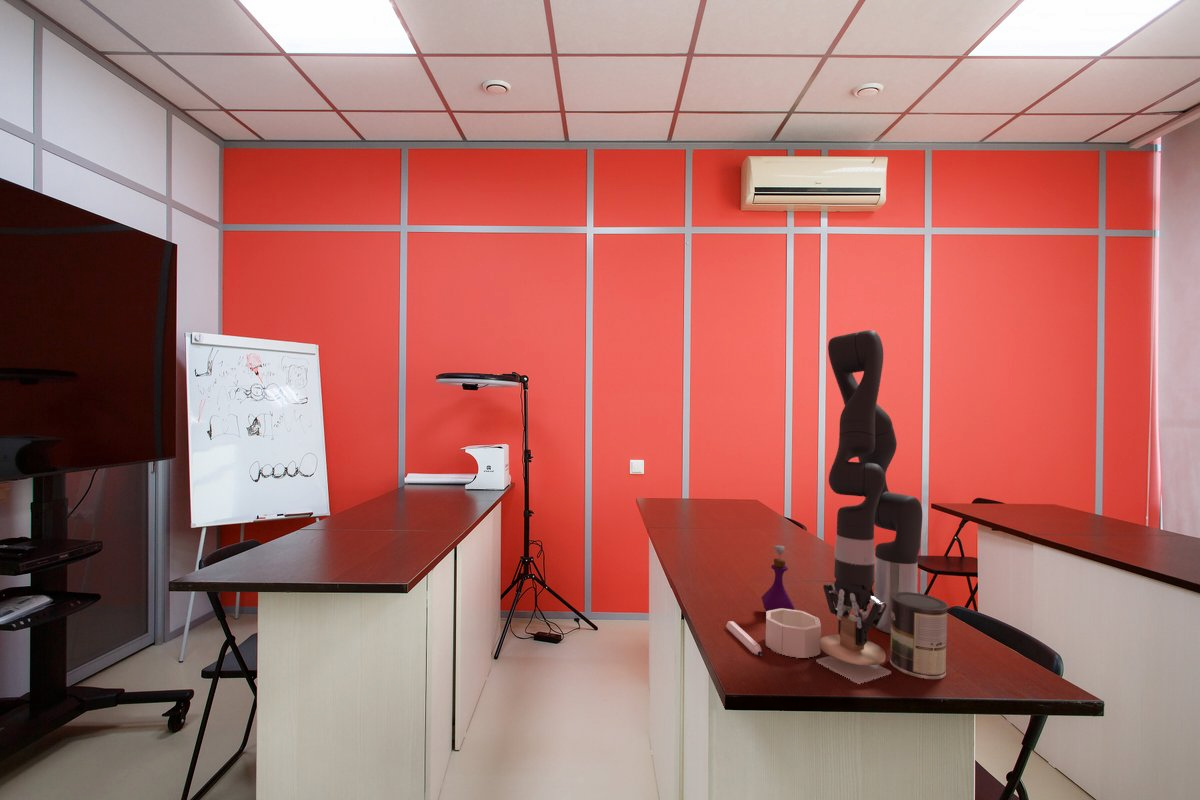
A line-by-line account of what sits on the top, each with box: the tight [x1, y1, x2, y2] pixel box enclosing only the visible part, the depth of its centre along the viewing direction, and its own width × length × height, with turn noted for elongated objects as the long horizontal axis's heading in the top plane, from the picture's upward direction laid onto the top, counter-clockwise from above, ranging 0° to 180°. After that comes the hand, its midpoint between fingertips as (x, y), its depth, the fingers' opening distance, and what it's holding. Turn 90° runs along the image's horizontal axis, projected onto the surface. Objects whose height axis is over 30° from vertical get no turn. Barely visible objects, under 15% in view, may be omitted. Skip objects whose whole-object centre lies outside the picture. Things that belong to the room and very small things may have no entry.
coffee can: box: [889, 592, 949, 680], centre depth 113 cm, size 10×10×14 cm
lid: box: [820, 613, 887, 665], centre depth 112 cm, size 12×12×7 cm
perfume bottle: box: [761, 545, 796, 612], centre depth 139 cm, size 8×8×18 cm
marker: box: [725, 620, 763, 657], centre depth 122 cm, size 3×2×16 cm
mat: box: [816, 655, 892, 685], centre depth 112 cm, size 10×10×1 cm
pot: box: [765, 608, 822, 659], centre depth 121 cm, size 11×11×6 cm
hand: (852, 640), depth 112 cm, fingers closed on lid, 3 cm apart
